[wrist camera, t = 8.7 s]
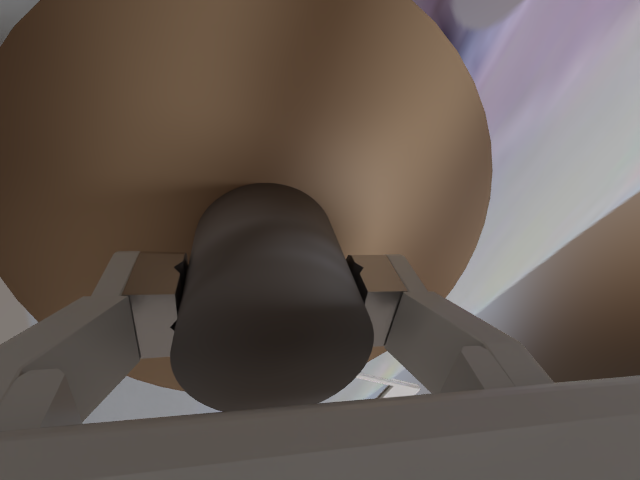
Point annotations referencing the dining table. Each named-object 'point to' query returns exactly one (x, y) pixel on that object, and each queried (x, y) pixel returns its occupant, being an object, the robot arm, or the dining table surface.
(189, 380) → the walnut lid
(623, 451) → the robot arm
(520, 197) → the dining table surface
